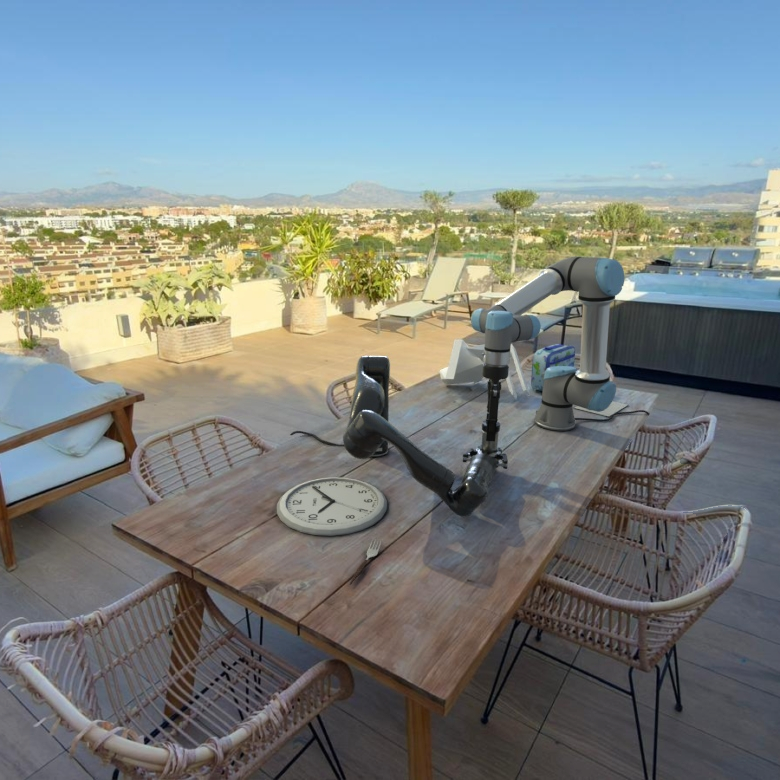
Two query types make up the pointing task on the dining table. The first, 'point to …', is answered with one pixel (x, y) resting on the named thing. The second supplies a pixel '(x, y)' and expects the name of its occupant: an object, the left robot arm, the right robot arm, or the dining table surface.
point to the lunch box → (550, 362)
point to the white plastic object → (475, 366)
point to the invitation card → (609, 411)
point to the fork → (370, 554)
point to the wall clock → (331, 506)
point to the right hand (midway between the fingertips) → (490, 436)
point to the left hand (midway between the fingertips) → (490, 449)
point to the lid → (484, 426)
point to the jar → (489, 444)
